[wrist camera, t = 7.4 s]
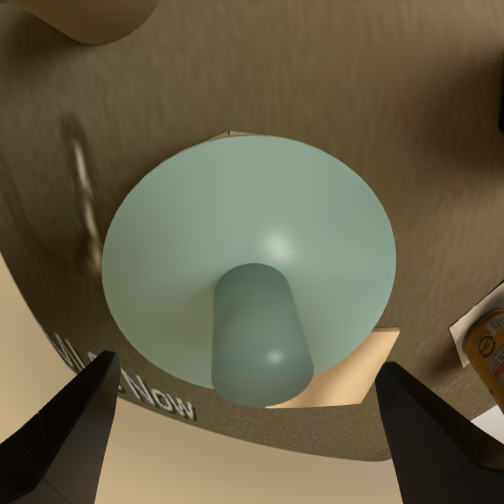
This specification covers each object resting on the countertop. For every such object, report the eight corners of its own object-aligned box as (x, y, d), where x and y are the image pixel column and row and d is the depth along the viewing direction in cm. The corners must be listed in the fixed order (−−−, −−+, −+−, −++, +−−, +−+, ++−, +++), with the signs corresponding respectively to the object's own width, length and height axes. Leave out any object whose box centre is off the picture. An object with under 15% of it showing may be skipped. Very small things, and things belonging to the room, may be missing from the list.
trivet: (397, 327, 22) (400, 331, 22) (358, 399, 26) (360, 403, 26) (286, 326, 21) (287, 331, 21) (264, 403, 25) (265, 407, 25)
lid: (421, 166, 12) (504, 210, 7) (342, 380, 18) (367, 452, 13) (103, 123, 10) (26, 147, 6) (123, 369, 16) (102, 447, 11)
